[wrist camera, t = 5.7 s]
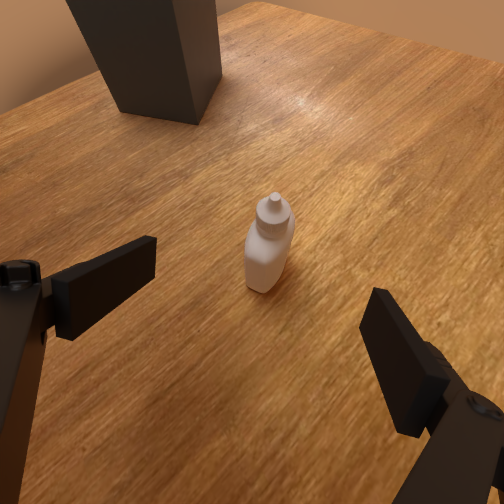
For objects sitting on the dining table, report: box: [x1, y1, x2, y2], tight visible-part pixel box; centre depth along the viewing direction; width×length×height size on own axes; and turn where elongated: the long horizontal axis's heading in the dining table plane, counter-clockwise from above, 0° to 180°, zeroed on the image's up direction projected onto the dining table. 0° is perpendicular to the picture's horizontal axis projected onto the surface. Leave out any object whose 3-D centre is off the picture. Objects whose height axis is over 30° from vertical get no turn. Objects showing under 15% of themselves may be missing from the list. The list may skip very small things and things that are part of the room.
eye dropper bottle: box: [244, 192, 295, 293], centre depth 22 cm, size 4×6×12 cm
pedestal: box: [66, 0, 222, 125], centre depth 32 cm, size 12×12×18 cm
